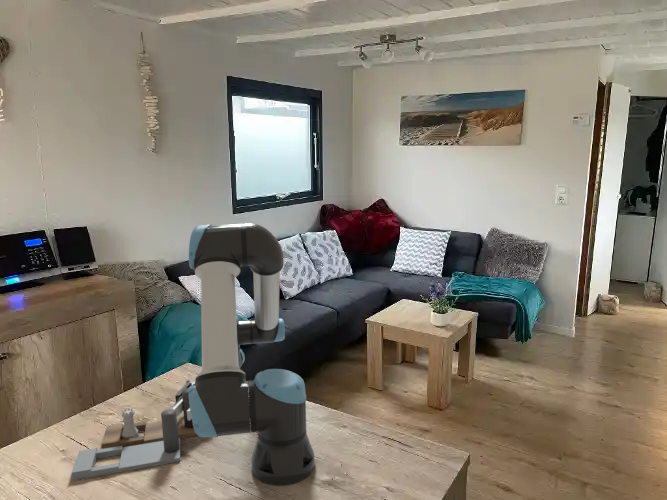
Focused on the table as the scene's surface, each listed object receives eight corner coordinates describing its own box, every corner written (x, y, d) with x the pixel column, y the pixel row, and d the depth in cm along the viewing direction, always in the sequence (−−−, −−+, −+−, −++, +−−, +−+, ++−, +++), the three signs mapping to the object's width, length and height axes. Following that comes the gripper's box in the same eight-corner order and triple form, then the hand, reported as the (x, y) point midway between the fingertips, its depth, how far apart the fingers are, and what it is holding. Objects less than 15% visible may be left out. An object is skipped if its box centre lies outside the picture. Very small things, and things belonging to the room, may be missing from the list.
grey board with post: (180, 461, 125) (176, 420, 123) (72, 480, 118) (67, 437, 116) (180, 441, 133) (177, 402, 131) (80, 458, 127) (75, 417, 124)
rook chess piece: (142, 433, 137) (139, 406, 136) (134, 443, 133) (131, 415, 131) (126, 433, 138) (123, 406, 136) (118, 442, 133) (115, 414, 132)
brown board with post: (199, 435, 136) (196, 397, 134) (102, 451, 129) (98, 411, 127) (198, 418, 144) (195, 382, 142) (107, 432, 138) (103, 395, 136)
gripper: (243, 389, 155) (211, 430, 132) (192, 385, 158) (152, 425, 135) (242, 366, 154) (209, 404, 131) (190, 362, 157) (150, 399, 134)
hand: (180, 414), depth 133 cm, fingers closed on brown board with post, 4 cm apart
